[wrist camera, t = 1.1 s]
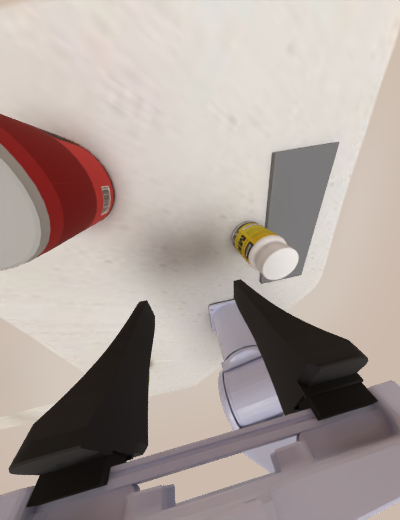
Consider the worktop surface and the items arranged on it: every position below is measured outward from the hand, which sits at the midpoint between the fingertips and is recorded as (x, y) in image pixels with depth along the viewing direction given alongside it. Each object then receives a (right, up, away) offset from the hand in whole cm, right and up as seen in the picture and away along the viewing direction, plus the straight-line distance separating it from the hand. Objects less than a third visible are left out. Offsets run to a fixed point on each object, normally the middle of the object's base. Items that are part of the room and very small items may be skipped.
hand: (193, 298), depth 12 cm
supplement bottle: (+8, +7, +10) cm, 14 cm away
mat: (+14, +8, +10) cm, 20 cm away
